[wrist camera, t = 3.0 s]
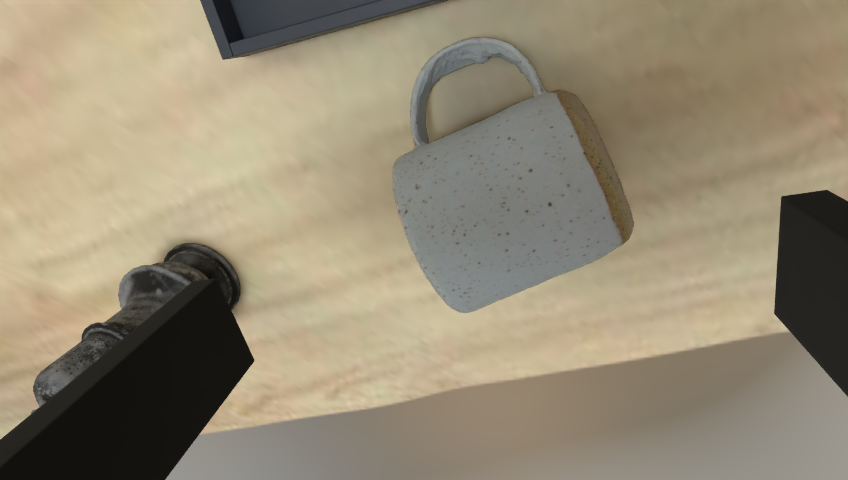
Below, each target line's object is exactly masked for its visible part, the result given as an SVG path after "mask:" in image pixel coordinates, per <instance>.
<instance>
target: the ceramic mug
mask: <svg viewBox="0 0 848 480" xmlns="http://www.w3.org/2000/svg"><path fill="white" fill-rule="evenodd" d="M492 56H494V57H500V58H503V59H504V60H506V61H508V62H510V63H512V64H514V65H516V66H517V68H518V69H519V70H520V71H521V73H522V74H524V75H525V77H526V78H527V80H528V81H529V83H530V84H531V86H532V88H533V91H534V96H533V97H532V98H529V99H526V100H524V101H521V102H519V103H517V104H515V105H513V106H510V107H508V108H506V109H504V110H502V111H500V112H499V113H497V114H495V115H493V116H491V117H489V118H487V119H484V120H482V121H480V122H477V123H475V124H473V125H470V126H468V127H465V128H463V129H461V130H459V131H456V132H454V133H452V134H449V135H447V136H444V137H442V138H440V139H437V140H435V141H434V142H432V143H429V139H428V135H427V129H426V105H427V100H428V97H429V93H430V91H431V89H432V87H433V85H434V84H435V83H436V82H437V81H439V80H440V78H441V77H442V76H444V75H446V74H448V73H450V72H453V71H455V70H457V69H460V68H462V67H464V66H467V65H470V64H473V63H485V62H486V61H487V60H488V59H489V58H490V57H492ZM410 119H411V130H412V135H413V140H414V144H415V149H414V150H413V151H411V152H408V153H406V154H404V155H402V156H401V157H399V158H398V159H397V160H396V162H395V164H394V167H393V190H394V196H395V202H396V206H397V210H398V214H399V216H400V219H401V221H402V225H403V228H404V232H405V235H406V237H407V239H408V242H409V244H410V247H411V250H412V251H413V253H414V255H415V257H416V259H417V261H418V263H419V265H420V267H421V269H422V271H423V273H424V274H425V276H426V278H427V279H428V280H429V282H430V283H431V285H432V286H433V288H434V289H435V290H436V292H437V293H438V295H439V296H440V297H441V299H442V300H443V301H444V302H445V303H446V304H447V305H448V306H450V307H451V308H452V309H454V310H456V311H458V312H462V313H468V312H472V311H475V310H478V309H480V308H482V307H485V306H487V305H489V304H491V303H494V302H496V301H498V300H501V299H504V298H506V297H508V296H511V295H513V294H515V293H518V292H520V291H523V290H525V289H527V288H530V287H533V286H535V285H538V284H540V283H542V282H544V281H546V280H549V279H551V278H553V277H556V276H558V275H561V274H563V273H566V272H569V271H571V270H574V269H576V268H579V267H581V266H584V265H586V264H589V263H591V262H593V261H595V260H597V259H600V258H602V257H603V256H605V255H606V254H608V253H609V252H611V251H613V250H614V249H616V248H617V247H619V246H621V245H622V244H624V243H625V242H626V241H627V240H628V239H629V238H630V235H631V233H632V230H633V226H634V222H633V218H632V213H631V210H630V207H629V204H628V202H627V199H626V196H625V194H624V191H623V188H622V185H621V182H620V179H619V177H618V175H617V173H616V170H615V168H614V166H613V164H612V161H611V159H610V157H609V155H608V153H607V150H606V148H605V146H604V144H603V142H602V140H601V137H600V135H599V133H598V131H597V129H596V127H595V125H594V123H593V121H592V119H591V117H590V115H589V113H588V112H587V110H586V108H585V106H584V105H583V103H582V102H581V101H580V99H579V98H578V97H577V96H576V95H574V94H571V93H569V92H566V91H559V90H558V91H554V92H550V93H549V92H547V91H545V90H544V88H543V86H542V83H541V81H540V78H539V77H538V75H537V72H536V70H535V69H534V67H533V66H532V65H531V63H530V62H529V60H528V59H527V58H526V57H525V56H524V55H523V54H522V53H521V52H520V51H518V50H517V49H516V48H515V47H514V46H512V45H511V44H509V43H506V42H503V41H500V40H497V39H492V38H487V37H477V38H469V39H466V40H462V41H459V42H457V43H455V44H453V45H450V46H448V47H446V48H444V49H443V50H441V51H440V52H438V53H437V54H435V55H434V56H433V57H432V58H430V60H429V61H428V62H427V63H426V64H425V65H424V67H423V68H422V70H421V72H420V74H419V75H418V78H417V80H416V83H415V86H414V89H413V93H412V98H411V110H410Z"/></svg>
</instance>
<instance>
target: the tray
mask: <svg viewBox="0 0 848 480" xmlns="http://www.w3.org/2000/svg"><path fill="white" fill-rule="evenodd" d="M200 1H201V3H202V6H203V9H204V11H205V14H206V17H207V19H208V22H209V25H210V27H211V30H212V33H213V35H214V38H215V40H216V43H217V46H218V48H219V51H220V54H221V56H222V59H231V58H238V57H244V56H248V55H252V54H256V53H259V52H263V51H266V50H270V49H274V48H277V47H281V46H285V45H288V44H292V43H295V42H299V41H303V40H306V39H310V38H313V37H317V36H321V35H324V34H328V33H332V32H335V31H339V30H342V29H346V28H350V27H353V26H357V25H360V24H364V23H368V22H371V21H375V20H379V19H382V18H386V17H389V16H393V15H397V14H400V13H404V12H408V11H411V10H415V9H418V8H422V7H426V6H429V5H433V4H436V3H440V2H444V1H447V0H200Z"/></svg>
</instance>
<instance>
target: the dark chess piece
mask: <svg viewBox="0 0 848 480" xmlns="http://www.w3.org/2000/svg"><path fill="white" fill-rule="evenodd" d="M214 278H217V280H218V283H219V285H220V287H221V289H222V291H223V293H224V296H225V298H226V300H227V302H228V304H229V306H230V309H233V308H234V306H235V305H236V304H237V302H238V300H239V296H240V283H239V280H238V277H237V274H236V273H235V271H234V269H233V268H232V266H231V265H230V264H229V263H228V261H227V260H226V259H225V258H224V257H223V256H221V255H220V254H219V253H217V252H216V251H215V250H212V249H210V248H208V247H206V246H203V245H199V244H195V243H189V244H182V245H179V246H176V247H175V248H173V249H172V250H171V251H170V252H168V254H167V256H166V257H165V259H164V262H162V263H156V264H153V265H144V266H140V267H137V268H134V269H132V270H131V271H129V272H128V273H127V274H126V275H125V276H124V277H123V279H122V281H121V283H120V286H119V294H118V296H119V301H120V306H121V308H122V309H121V310H120V311H119V312H118V313H117V314H115V315H114V316H113V317H111V318H110V319H108V320H107V321H106V322H104V323H95V324H91V325H90V326H88V327H87V328H86V329H85V330H84V332H83V334H82V341H81V342H80V343H79V344H77V345H76V346H75V347H73V348H72V349H71V350H69V351H68V352H67V353H65V354H64V355H63V356H61V357H60V358H59V359H57V360H56V361H55V362H53V363H52V364H50V365H49V366H48V367H46V368H45V369H44V370H43V371H41V372H40V374H39V375H38V376H37V377H36V380H35V383H34V386H33V392H34V395H35V398H36V401H37V402H38V404H39V407H41V406H42V405H43V404H44V403H46V402H47V401H48V400H49V399H50V398H52V397H53V396H54V395H55V394H56V393H58V392H59V391H60V390H61V389H63V388H64V387H65V386H66V385H67V384H69V383H70V382H71V381H72V380H73V379H75V378H76V377H77V376H78V375H80V374H81V373H82V372H83V371H84V370H86V369H87V368H88V367H89V366H90V365H92V364H93V363H94V362H95V361H97V360H98V359H99V358H100V357H101V356H103V355H104V354H105V353H106V352H107V351H109V350H110V349H111V348H112V347H114V346H115V345H116V344H117V343H118V342H120V341H121V340H122V339H123V338H124V337H126V336H127V335H128V334H129V333H131V332H132V331H133V330H134V329H135V328H137V327H138V326H139V325H140V324H141V323H143V322H144V321H145V320H146V319H148V318H149V317H150V316H151V315H152V314H154V313H155V312H156V311H157V310H158V309H160V308H161V307H162V306H163V305H165V304H166V303H167V302H168V301H169V300H171V299H172V298H173V297H174V296H175V295H177V294H178V293H179V292H180V291H182V290H183V289H184V288H185V287H186V286H188V285H189V284H190V283H191V282H193V281H200V280H207V279H214ZM35 411H36V410H32V412H31V414H32V413H33V412H35Z"/></svg>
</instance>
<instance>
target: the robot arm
mask: <svg viewBox="0 0 848 480" xmlns="http://www.w3.org/2000/svg"><path fill="white" fill-rule="evenodd" d="M774 314H775V315H776V316H777V317H778V318H779V319H780V321H781V322H782V323H783V324H784V325H785V326H786V327H787V328H788V330H789V331H790V332H791V333H792V334H793V335H794V336H795V337H796V339H797V340H798V341H799V342H800V343H801V344H802V345H803V347H804V348H805V349H806V350H807V351H808V352H809V353H810V354H811V356H812V357H813V358H814V359H815V360H816V361H817V362H818V363H819V364H820V366H821V367H822V368H823V369H824V370H825V371H826V372H827V374H828V375H829V376H830V377H831V378H832V379H833V380H834V382H835V383H836V384H837V385H838V386H839V387H840V388H841V389H842V391H843V392H844V393H845V394H846V395H847V396H848V201H846V200H844V199H843V198H841V197H839V196H837V195H835V194H833V193H832V192H830V191H828V190H823V191H816V192H809V193H802V194H795V195H788V196H782V197H781V212H780V228H779V245H778V261H777V277H776V294H775V310H774ZM253 362H254V358H253V356H252V354H251V352H250V350H249V348H248V345H247V343H246V341H245V339H244V337H243V335H242V332H241V330H240V328H239V326H238V324H237V322H236V319H235V317H234V315H233V313H232V311H231V309H230V306H229V304H228V302H227V300H226V298H225V296H224V293H223V291H222V289H221V287H220V285H219V283H218V280H217V278H214V279H207V280H200V281H193V282H191V283H190V284H189V285H188V286H186V287H185V288H184V289H183V290H182V291H180V292H179V293H178V294H177V295H175V296H174V297H173V298H172V299H171V300H169V301H168V302H167V303H166V304H165V305H163V306H162V307H161V308H160V309H158V310H157V311H156V312H155V313H154V314H152V315H151V316H150V317H149V318H148V319H146V320H145V321H144V322H143V323H141V324H140V325H139V326H138V327H137V328H135V329H134V330H133V331H132V332H131V333H129V334H128V335H127V336H126V337H124V338H123V339H122V340H121V341H120V342H118V343H117V344H116V345H115V346H114V347H112V348H111V349H110V350H109V351H107V352H106V353H105V354H104V355H103V356H101V357H100V358H99V359H98V360H97V361H95V362H94V363H93V364H92V365H90V366H89V367H88V368H87V369H86V370H84V371H83V372H82V373H81V374H80V375H78V376H77V377H76V378H75V379H73V380H72V381H71V382H70V383H69V384H67V385H66V386H65V387H64V388H63V389H61V390H60V391H59V392H58V393H56V394H55V395H54V396H53V397H52V398H50V399H49V400H48V401H47V402H46V403H44V404H43V405H42V406H41V407H39V408H38V409H37V410H36V411H35V412H33V413H32V414H31V415H30V416H29V417H27V418H26V419H25V420H24V421H22V422H21V423H20V424H19V425H18V426H16V427H15V428H14V429H13V430H12V431H10V432H9V433H8V434H7V435H5V436H4V437H3V438H2V439H1V440H0V480H165V479H166V478H167V476H168V475H169V473H170V472H171V471H172V470H173V468H174V467H175V466H176V464H177V463H178V462H179V460H180V459H181V458H182V456H183V455H184V454H185V452H186V451H187V450H188V448H189V447H190V446H191V444H192V443H193V441H194V440H195V439H196V438H197V436H198V435H199V434H200V433H201V431H202V430H203V429H204V427H205V426H206V425H207V423H208V422H209V421H210V419H211V418H212V417H213V415H214V414H215V413H216V411H217V410H218V409H219V407H220V406H221V405H222V403H223V402H224V401H225V399H226V398H227V397H228V395H229V394H230V393H231V391H232V390H233V389H234V387H235V386H236V385H237V383H238V382H239V381H240V379H241V378H242V377H243V375H244V374H245V373H246V371H247V370H248V369H249V367H250V366H251V365H252V363H253Z"/></svg>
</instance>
